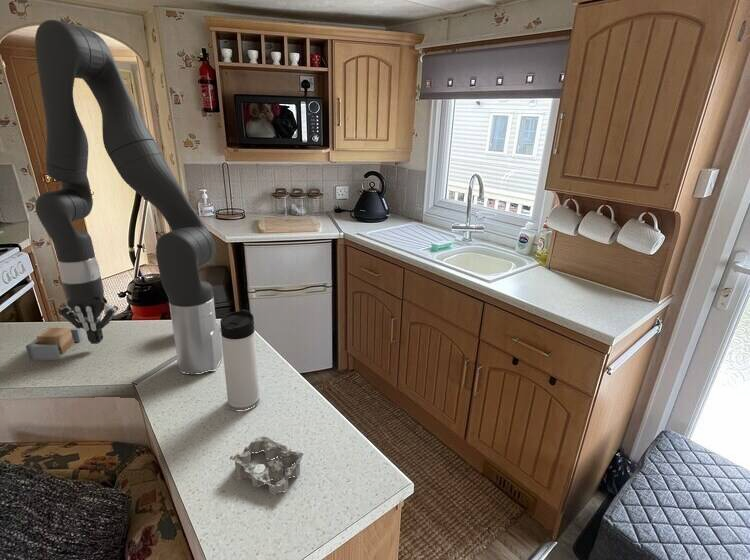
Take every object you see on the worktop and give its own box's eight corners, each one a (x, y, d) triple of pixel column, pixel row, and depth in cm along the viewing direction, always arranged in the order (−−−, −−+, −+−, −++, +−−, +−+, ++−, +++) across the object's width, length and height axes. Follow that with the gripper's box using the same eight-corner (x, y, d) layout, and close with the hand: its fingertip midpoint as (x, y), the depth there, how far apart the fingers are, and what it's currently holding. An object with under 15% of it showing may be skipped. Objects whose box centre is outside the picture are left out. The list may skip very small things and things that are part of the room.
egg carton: (228, 475, 70) (226, 456, 68) (259, 447, 76) (258, 429, 75) (278, 502, 65) (277, 482, 64) (307, 469, 72) (306, 451, 70)
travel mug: (265, 395, 90) (260, 311, 83) (249, 415, 84) (242, 326, 77) (240, 390, 91) (232, 307, 84) (221, 408, 85) (212, 320, 78)
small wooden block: (75, 344, 106) (71, 326, 104) (61, 356, 101) (56, 338, 99) (55, 344, 106) (50, 326, 104) (39, 355, 101) (34, 337, 99)
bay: (82, 340, 108) (79, 328, 107) (57, 359, 99) (54, 346, 98) (56, 339, 108) (53, 327, 107) (29, 359, 99) (25, 346, 98)
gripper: (119, 271, 101) (131, 335, 107) (62, 270, 100) (78, 334, 106) (101, 282, 94) (116, 350, 100) (40, 282, 93) (58, 350, 99)
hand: (96, 342), depth 103 cm, fingers closed
